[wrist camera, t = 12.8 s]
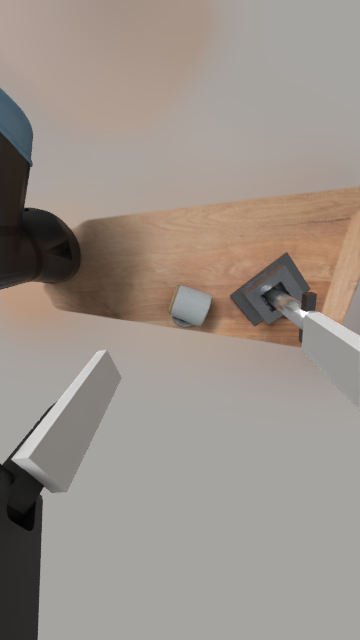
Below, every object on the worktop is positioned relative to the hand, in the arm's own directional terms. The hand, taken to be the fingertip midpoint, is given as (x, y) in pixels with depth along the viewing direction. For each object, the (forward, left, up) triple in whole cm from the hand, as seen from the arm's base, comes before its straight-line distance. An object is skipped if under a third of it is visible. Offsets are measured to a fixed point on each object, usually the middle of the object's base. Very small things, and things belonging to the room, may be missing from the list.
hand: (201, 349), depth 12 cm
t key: (+14, +9, -29) cm, 34 cm away
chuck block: (+14, +10, -30) cm, 34 cm away
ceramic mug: (+5, -6, -30) cm, 31 cm away
